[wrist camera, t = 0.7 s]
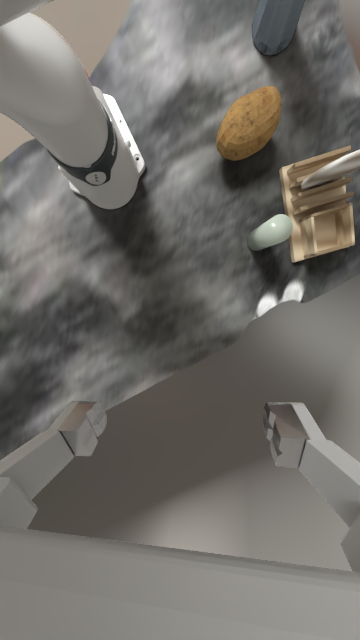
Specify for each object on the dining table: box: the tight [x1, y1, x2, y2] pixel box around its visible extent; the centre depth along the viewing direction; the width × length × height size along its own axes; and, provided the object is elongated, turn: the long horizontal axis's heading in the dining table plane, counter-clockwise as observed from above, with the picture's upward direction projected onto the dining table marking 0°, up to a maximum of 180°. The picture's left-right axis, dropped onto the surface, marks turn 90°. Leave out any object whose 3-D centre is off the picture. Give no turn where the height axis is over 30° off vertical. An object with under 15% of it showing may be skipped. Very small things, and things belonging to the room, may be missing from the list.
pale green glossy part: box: [247, 214, 293, 251], centre depth 41 cm, size 5×5×11 cm
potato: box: [217, 86, 282, 161], centre depth 38 cm, size 10×14×8 cm
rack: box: [279, 145, 360, 262], centre depth 39 cm, size 22×14×13 cm, turn 16°
